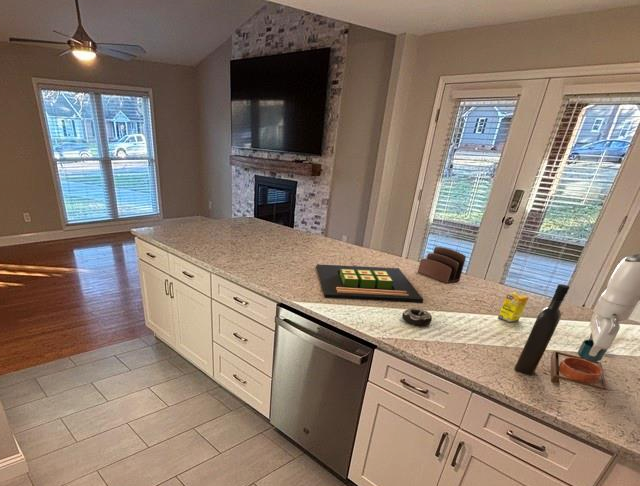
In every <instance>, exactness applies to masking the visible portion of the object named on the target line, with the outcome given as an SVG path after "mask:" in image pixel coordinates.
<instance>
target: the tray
mask: <svg viewBox="0 0 640 486" xmlns="http://www.w3.org/2000/svg"><path fill="white" fill-rule="evenodd" d="M559 355H561V356H565V357H573V358H580V359H583V358H581V357H580V356H579V355H578V356H577V355H573V354H569V353H564V352H561V351H557V350H553V351H552V354H551V355H550V382H551V383H555V384H558V385H559V384H561V383H560V379H561V380H565V381H568V382H573V383H576V384H580V385H583V386H586V387H592V388H594V389H599V390H602V391H607V384H606V383H607V382H606V380H605V375H604V372H603V373H602V375H601V377H600V379H601V384H602V386H600V385H596V384H593V383H585V382H581V381H577V380H573V379H570V378H568V377H566V376H562V375H560V374H559V375H558V374H557V369H558V368H559V366H560V360H559ZM584 360H586V359H584ZM587 361H589V360H587ZM590 362H592V363H594V364H596V365H597V364H598V366H599V367H600V368H601V369H602V370H603V365H602V362H601V361H590Z"/></svg>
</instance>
